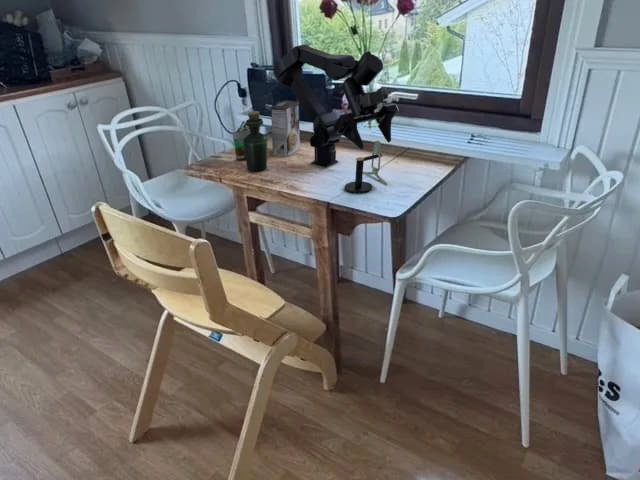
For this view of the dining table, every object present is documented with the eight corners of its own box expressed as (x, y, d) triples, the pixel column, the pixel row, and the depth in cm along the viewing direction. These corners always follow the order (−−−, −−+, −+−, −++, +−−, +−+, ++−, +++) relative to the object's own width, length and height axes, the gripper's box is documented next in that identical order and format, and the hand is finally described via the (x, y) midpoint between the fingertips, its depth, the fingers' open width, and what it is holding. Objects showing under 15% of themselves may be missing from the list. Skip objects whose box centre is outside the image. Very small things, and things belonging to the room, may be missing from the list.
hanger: (385, 186, 149) (389, 147, 142) (361, 174, 158) (363, 136, 151) (388, 185, 149) (392, 146, 142) (364, 173, 158) (366, 135, 152)
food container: (251, 162, 180) (249, 132, 174) (235, 162, 182) (232, 132, 176) (261, 150, 189) (260, 122, 182) (245, 150, 191) (243, 122, 184)
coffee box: (284, 147, 190) (283, 100, 180) (300, 149, 186) (300, 101, 176) (271, 155, 184) (270, 106, 174) (287, 157, 181) (286, 108, 171)
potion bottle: (273, 168, 173) (271, 112, 162) (253, 175, 170) (249, 117, 159) (260, 163, 179) (257, 107, 168) (240, 169, 176) (236, 113, 165)
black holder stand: (339, 187, 155) (340, 157, 150) (372, 178, 158) (374, 149, 153) (354, 195, 149) (356, 165, 144) (388, 187, 152) (391, 156, 147)
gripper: (340, 84, 140) (361, 135, 138) (398, 72, 144) (418, 122, 143) (324, 109, 150) (343, 157, 149) (379, 97, 155) (397, 144, 153)
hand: (376, 144), depth 148 cm, fingers open, 9 cm apart
